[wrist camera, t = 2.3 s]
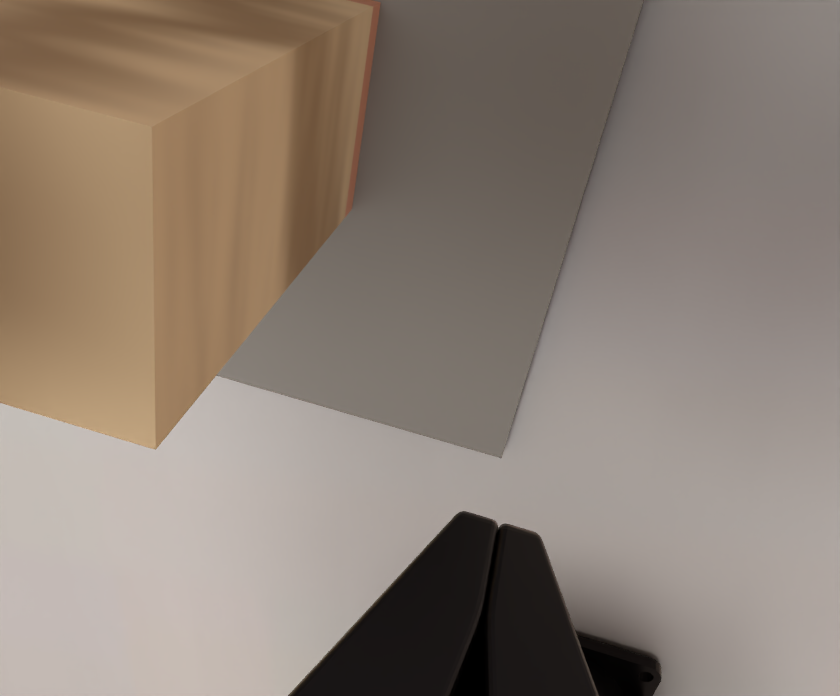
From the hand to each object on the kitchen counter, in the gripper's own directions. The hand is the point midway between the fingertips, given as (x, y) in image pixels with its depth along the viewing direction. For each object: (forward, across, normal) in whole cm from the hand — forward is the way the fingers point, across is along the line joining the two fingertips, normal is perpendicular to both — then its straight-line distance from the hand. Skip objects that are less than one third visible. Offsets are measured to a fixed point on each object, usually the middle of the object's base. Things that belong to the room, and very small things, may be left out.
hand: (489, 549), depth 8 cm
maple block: (+12, +8, 0) cm, 14 cm away
